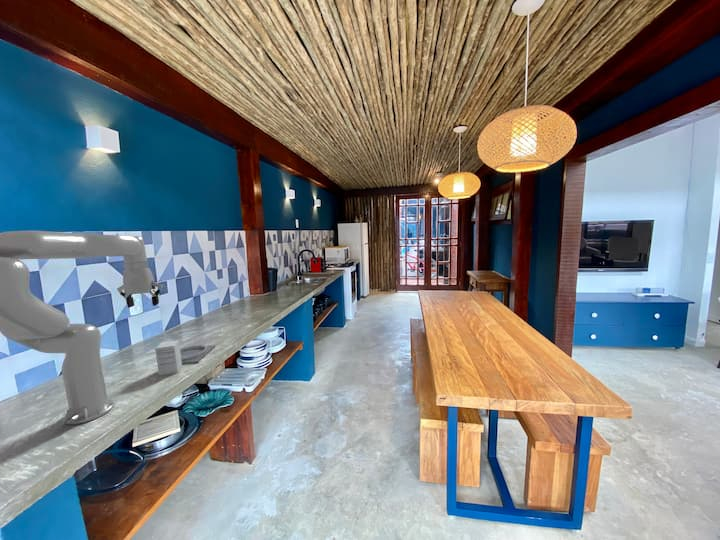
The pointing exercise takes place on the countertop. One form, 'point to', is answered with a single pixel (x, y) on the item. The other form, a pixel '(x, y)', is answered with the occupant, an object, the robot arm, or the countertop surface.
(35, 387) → the countertop surface
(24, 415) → the countertop surface
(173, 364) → the supplement box
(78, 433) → the countertop surface
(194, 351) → the slate board
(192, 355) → the steel ring
